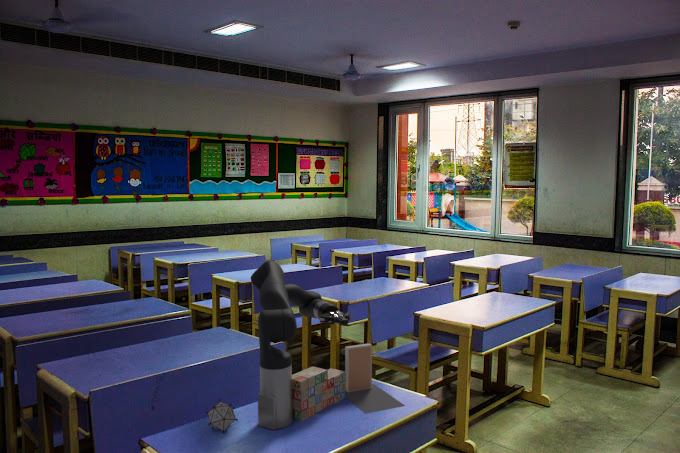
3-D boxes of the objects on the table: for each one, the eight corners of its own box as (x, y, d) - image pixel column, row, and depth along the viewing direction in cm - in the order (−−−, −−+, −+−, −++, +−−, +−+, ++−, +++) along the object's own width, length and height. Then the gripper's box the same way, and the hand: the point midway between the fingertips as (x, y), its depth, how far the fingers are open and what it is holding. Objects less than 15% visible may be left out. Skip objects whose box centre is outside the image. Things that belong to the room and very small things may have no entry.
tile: (345, 390, 183) (345, 346, 181) (369, 386, 186) (369, 343, 185) (348, 392, 181) (347, 348, 180) (372, 388, 184) (372, 344, 183)
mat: (336, 391, 183) (336, 390, 183) (373, 385, 189) (373, 383, 189) (365, 415, 164) (365, 413, 164) (405, 407, 170) (405, 405, 170)
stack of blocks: (331, 395, 180) (331, 358, 179) (346, 399, 176) (346, 362, 176) (286, 416, 164) (285, 376, 163) (301, 421, 160) (301, 380, 159)
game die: (218, 440, 156) (214, 405, 161) (244, 431, 155) (240, 396, 160) (202, 436, 149) (198, 400, 154) (229, 427, 147) (225, 391, 152)
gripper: (309, 304, 204) (328, 314, 188) (342, 301, 209) (362, 310, 194) (310, 324, 204) (328, 335, 189) (342, 320, 210) (362, 331, 194)
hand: (345, 322), depth 191 cm, fingers closed
